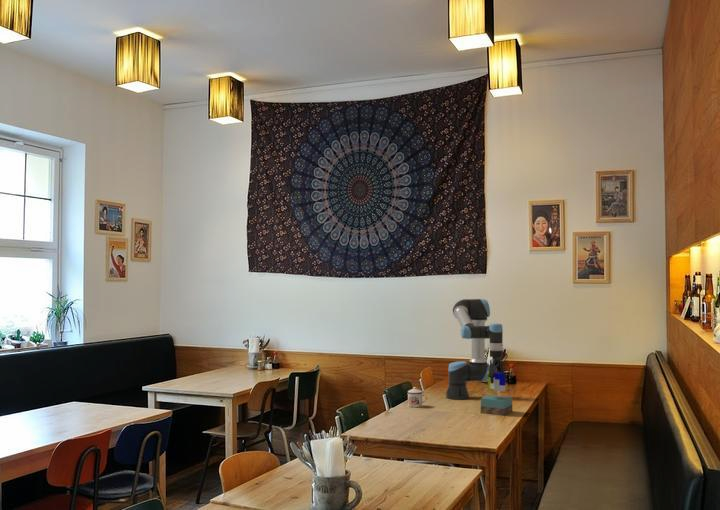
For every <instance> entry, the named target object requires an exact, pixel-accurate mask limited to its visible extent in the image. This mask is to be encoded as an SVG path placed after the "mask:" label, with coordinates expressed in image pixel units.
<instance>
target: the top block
mask: <svg viewBox="0 0 720 510" xmlns="http://www.w3.org/2000/svg"><path fill="white" fill-rule="evenodd" d="M511 405H512V406H513V396H504V395H495V394H489V395H486V396H483V397H480V407H481V406H484V407H492V408H501V409H505V408H507V407H509V406H511Z"/></svg>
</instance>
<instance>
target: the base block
mask: <svg viewBox="0 0 720 510" xmlns="http://www.w3.org/2000/svg"><path fill="white" fill-rule="evenodd" d="M511 413H513V404H512V405H511V406H509V407H507V408H505V409H501V408H492V407H484V406H481V405H480V414H483V415H491V416H501V417H505V416H507V415H509V414H511Z"/></svg>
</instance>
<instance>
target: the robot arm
mask: <svg viewBox="0 0 720 510" xmlns="http://www.w3.org/2000/svg"><path fill="white" fill-rule="evenodd" d="M452 307H453V308H452V314H453V317H455V319H457V321H458V323H459V325H460V327H461V328H460V336H461V338H462V339H467V340H470V339H471V358H470V359H469V361H468V363H467V361H464V360H463V361H462V360H461V361H458V360H457V361H454V362H450V363H449V364H448V370H447V371H448V385H447V386H448V387H447V389H446V390H447V391H446V393H445V397H446V399H450V400H467V399H470V392H469V390H468V387H467V382H488V377H490V389H495V377H494V376H495V372H496V371H501V372H505V371H504V369H505V368H504V363H503V356H504V355H503V353H504V352H503V347H504V345H503V343H504V342H503V333H504V332H503V324H501V323H490V324H489V325H486V322H487V321H488V318H489V317H490V316H491V308H490V304H489V302H488V300H487V299H483V298H482V299H481V298H473V299H472V298H471V299H469V298H468V299H467V298H463V299H460V300H459V301H457V302H456V303H455V304H454V305H453V306H452ZM487 339H488V340H489V357H491V358H492V359H490V360H489V363H488V361H487V359H486V353H485V352H486V351H485V350H486V349H485V348H486V346H485V345H486V341H485V340H487ZM488 371H489V375H488V377H487V373H488Z"/></svg>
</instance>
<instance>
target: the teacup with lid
mask: <svg viewBox="0 0 720 510" xmlns="http://www.w3.org/2000/svg"><path fill="white" fill-rule="evenodd" d="M423 397H425V400H424V401H423ZM427 400H428V397H427V395H426V394H423V391H422V390H420V389H419V388H417V386H413V388H412V389H409V390H407V406H408V407H409V408H422V407H423V404H424V403H426V402H427Z"/></svg>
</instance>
